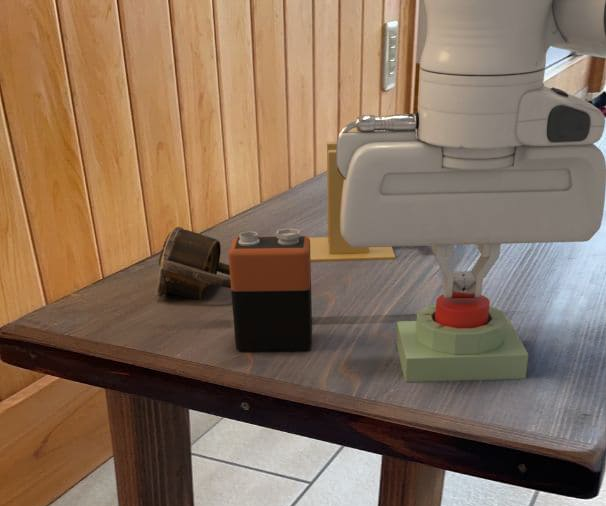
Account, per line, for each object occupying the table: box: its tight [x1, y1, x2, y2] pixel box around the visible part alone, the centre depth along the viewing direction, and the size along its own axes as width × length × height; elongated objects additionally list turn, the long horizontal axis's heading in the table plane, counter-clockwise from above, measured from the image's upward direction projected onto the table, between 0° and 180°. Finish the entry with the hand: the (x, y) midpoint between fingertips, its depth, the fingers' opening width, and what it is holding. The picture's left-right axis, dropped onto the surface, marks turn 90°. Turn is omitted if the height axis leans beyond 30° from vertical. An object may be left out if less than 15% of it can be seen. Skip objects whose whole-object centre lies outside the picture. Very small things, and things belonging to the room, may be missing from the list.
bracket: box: [308, 141, 396, 263], centre depth 94 cm, size 10×8×12 cm
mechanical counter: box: [154, 226, 231, 301], centre depth 85 cm, size 7×13×10 cm
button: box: [435, 294, 491, 329], centre depth 71 cm, size 4×4×2 cm
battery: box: [228, 227, 313, 353], centre depth 75 cm, size 4×7×10 cm, turn 88°
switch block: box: [395, 303, 530, 383], centre depth 73 cm, size 10×8×4 cm
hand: (461, 296), depth 71 cm, fingers closed
